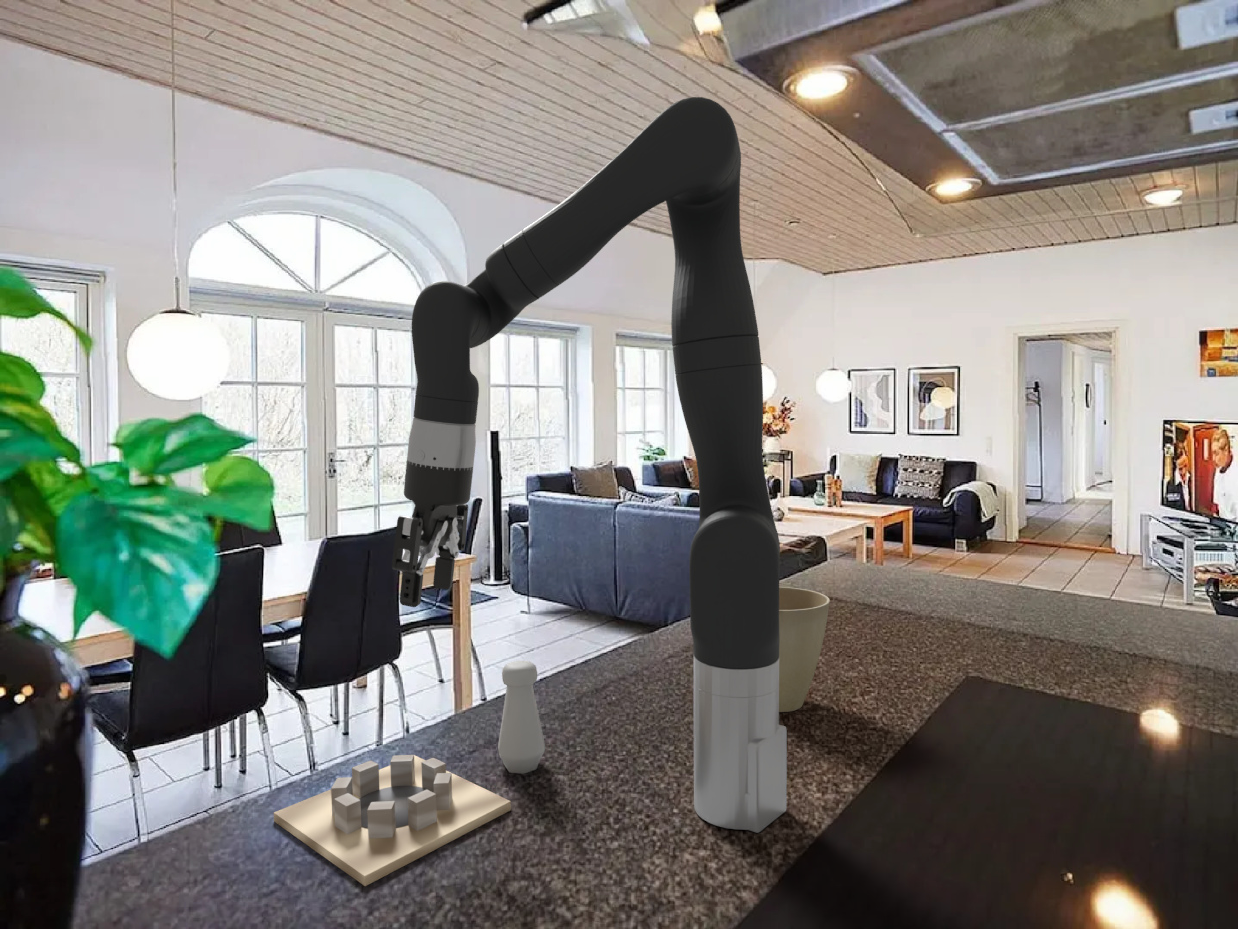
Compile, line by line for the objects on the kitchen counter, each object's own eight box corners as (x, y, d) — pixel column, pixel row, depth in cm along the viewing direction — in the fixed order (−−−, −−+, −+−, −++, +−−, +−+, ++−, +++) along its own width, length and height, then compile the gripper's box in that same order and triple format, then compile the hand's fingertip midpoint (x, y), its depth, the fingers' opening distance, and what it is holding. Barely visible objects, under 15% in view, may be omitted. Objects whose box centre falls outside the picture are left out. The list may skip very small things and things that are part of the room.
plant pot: (848, 702, 117) (849, 596, 116) (789, 732, 107) (790, 616, 106) (766, 678, 128) (766, 581, 127) (705, 702, 118) (705, 597, 117)
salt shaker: (523, 751, 102) (520, 653, 101) (555, 764, 99) (553, 662, 98) (488, 768, 98) (485, 665, 97) (520, 781, 94) (518, 675, 93)
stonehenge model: (510, 810, 88) (510, 775, 87) (365, 886, 74) (363, 845, 74) (415, 763, 99) (414, 732, 99) (274, 821, 86) (272, 785, 86)
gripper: (444, 470, 84) (429, 618, 85) (494, 460, 97) (480, 588, 99) (379, 459, 85) (366, 606, 87) (437, 451, 99) (424, 577, 101)
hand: (426, 596), depth 93 cm, fingers open, 8 cm apart
